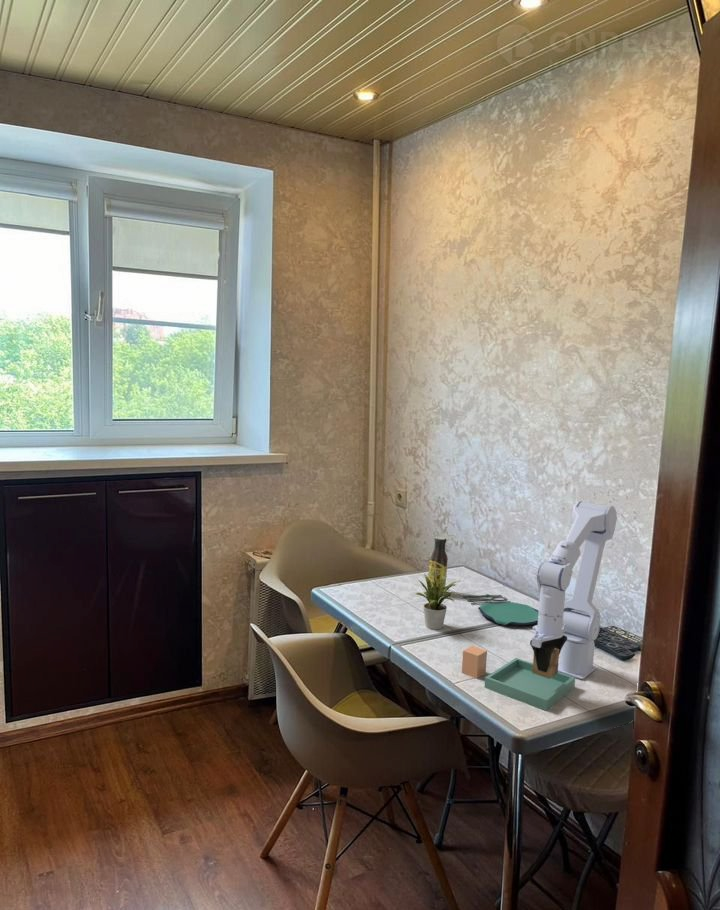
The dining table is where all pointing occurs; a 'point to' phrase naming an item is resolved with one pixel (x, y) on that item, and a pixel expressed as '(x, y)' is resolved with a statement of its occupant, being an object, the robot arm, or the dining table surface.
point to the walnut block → (552, 665)
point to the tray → (529, 684)
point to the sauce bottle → (438, 561)
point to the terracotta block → (474, 662)
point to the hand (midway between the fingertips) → (546, 667)
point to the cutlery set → (505, 610)
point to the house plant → (435, 602)
